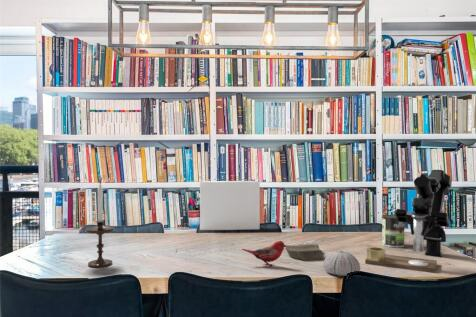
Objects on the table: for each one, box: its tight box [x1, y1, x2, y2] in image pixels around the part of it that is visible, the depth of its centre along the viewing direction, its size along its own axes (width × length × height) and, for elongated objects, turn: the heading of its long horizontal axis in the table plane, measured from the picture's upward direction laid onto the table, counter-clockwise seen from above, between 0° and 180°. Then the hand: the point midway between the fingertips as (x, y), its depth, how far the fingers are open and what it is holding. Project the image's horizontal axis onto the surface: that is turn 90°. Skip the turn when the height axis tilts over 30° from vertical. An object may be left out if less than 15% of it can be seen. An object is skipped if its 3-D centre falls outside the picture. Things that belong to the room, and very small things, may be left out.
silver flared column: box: [411, 214, 426, 253], centre depth 150 cm, size 5×5×14 cm
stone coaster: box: [408, 260, 428, 266], centre depth 150 cm, size 7×7×1 cm
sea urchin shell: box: [322, 250, 361, 277], centre depth 143 cm, size 13×14×8 cm
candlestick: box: [85, 176, 116, 269], centre depth 154 cm, size 11×11×35 cm
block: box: [199, 180, 261, 231], centre depth 231 cm, size 35×8×28 cm, turn 96°
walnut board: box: [364, 253, 438, 273], centre depth 155 cm, size 13×25×2 cm, turn 60°
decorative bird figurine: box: [241, 240, 288, 267], centre depth 153 cm, size 3×18×10 cm, turn 81°
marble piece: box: [284, 243, 323, 261], centre depth 168 cm, size 17×15×4 cm
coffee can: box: [381, 214, 405, 249], centre depth 188 cm, size 10×10×14 cm
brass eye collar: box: [366, 246, 386, 261], centre depth 157 cm, size 7×7×4 cm
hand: (417, 234), depth 149 cm, fingers closed on silver flared column, 4 cm apart
